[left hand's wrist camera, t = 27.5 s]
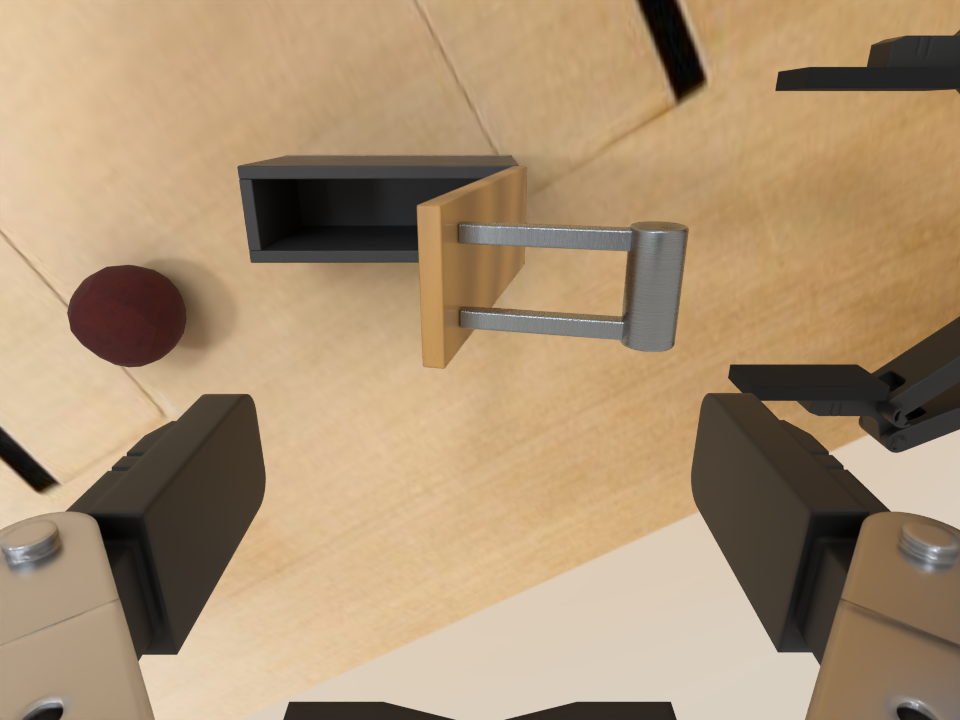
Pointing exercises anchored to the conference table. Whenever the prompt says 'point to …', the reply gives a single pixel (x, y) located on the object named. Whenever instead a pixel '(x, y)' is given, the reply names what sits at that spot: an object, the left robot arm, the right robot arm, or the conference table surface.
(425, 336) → the lid
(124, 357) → the dark red ball
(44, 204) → the conference table surface
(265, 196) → the chest
